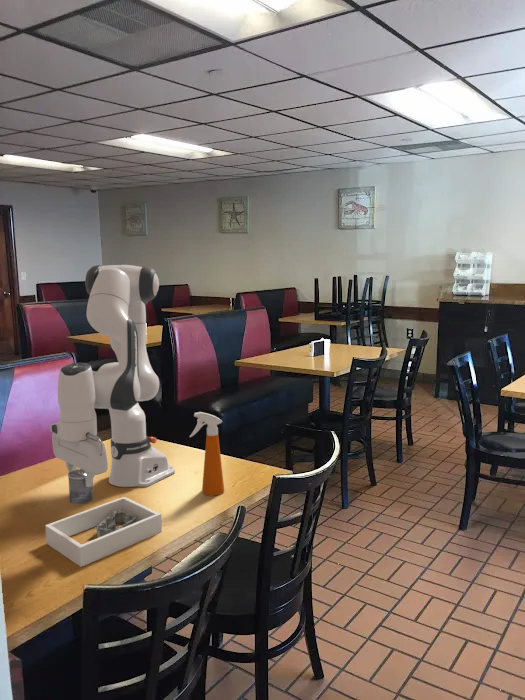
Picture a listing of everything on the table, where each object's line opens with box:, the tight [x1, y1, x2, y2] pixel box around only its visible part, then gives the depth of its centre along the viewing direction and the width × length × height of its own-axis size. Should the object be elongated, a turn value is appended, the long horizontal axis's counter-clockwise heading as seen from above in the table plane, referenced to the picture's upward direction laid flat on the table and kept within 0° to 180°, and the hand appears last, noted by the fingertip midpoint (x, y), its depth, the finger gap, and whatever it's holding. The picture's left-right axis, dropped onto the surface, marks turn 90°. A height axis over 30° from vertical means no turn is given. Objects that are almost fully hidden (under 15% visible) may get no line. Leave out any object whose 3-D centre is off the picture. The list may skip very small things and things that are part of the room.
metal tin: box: [67, 468, 94, 505], centre depth 142 cm, size 6×6×7 cm
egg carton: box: [94, 509, 137, 538], centre depth 152 cm, size 11×8×4 cm
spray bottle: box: [189, 411, 225, 496], centre depth 175 cm, size 7×11×26 cm, turn 110°
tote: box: [44, 496, 162, 568], centre depth 148 cm, size 24×17×5 cm
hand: (81, 482), depth 141 cm, fingers closed on metal tin, 6 cm apart
